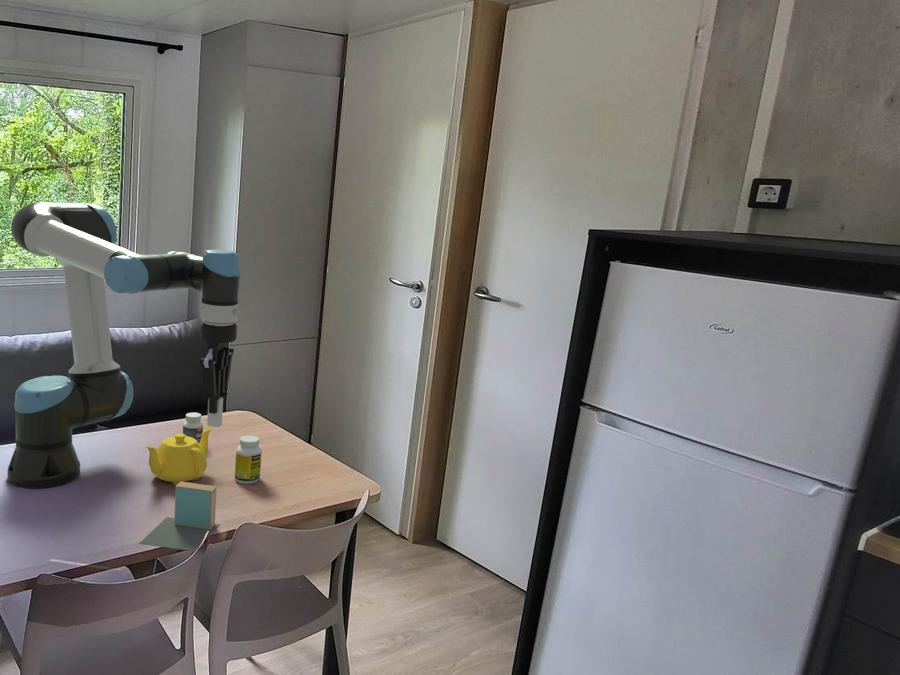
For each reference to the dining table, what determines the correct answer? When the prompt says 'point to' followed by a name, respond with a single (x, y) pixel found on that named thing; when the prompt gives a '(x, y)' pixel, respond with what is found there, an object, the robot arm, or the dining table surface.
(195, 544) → the mat
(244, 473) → the pill bottle
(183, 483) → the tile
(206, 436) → the teapot
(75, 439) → the dining table surface
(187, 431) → the pill bottle
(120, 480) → the dining table surface
